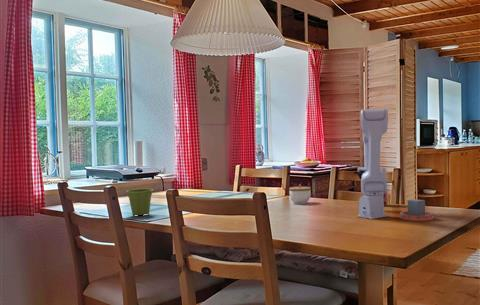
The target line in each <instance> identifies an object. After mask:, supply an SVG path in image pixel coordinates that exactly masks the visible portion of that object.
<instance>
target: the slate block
mask: <svg viewBox="0 0 480 305" xmlns="http://www.w3.org/2000/svg"><path fill="white" fill-rule="evenodd" d="M407 211H408V215H425V212H426V200H425V199H415V198H414V199H408V200H407Z"/></svg>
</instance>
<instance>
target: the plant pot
mask: <svg viewBox="0 0 480 305" xmlns="http://www.w3.org/2000/svg"><path fill="white" fill-rule="evenodd" d="M153 191H154V189H153V188H136V189H135V188H134V189H129V190H126V191H125V192H126V193H127V197H128V199H129V200H128V201H129V204H130V208H131V213H132V214H131V215H132V216H133V215H144V214H149V215H150V210H151V209H150V208H151V200H152V195H153V194H152V193H153Z"/></svg>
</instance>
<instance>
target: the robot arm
mask: <svg viewBox="0 0 480 305" xmlns="http://www.w3.org/2000/svg"><path fill="white" fill-rule="evenodd" d="M388 123H389V112H388V109H387V108H375V109H373V108H372V109H363V108H362V109H361V110H360V125H361V126H360V127H361V131H362V143H363V156H364V157H363V160H364V162H363V163H364V164H363V165H364V166H360V167H357V173H356V174H357V176H358V178H359V180H360V188H361V190H360V191H361V193H362V194H364V195H362V196H360V197H359V199H358V214H357V217H360V218H365V219H371V220H372V219H373V220H374V219H378V218H379V219H380V218H387V217H390V216H389V214H385V208H384V207H385V206H384V199H383V195H384V193H386V192H387V193H388V181H387V180H388V179H387V169H386V167H385V168H384V167H381V142H382V141H381V140H382V137H383V135H384V134H386V133H387V132H388V130H389V129H388V128H389V127H388V126H389V125H388Z"/></svg>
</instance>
